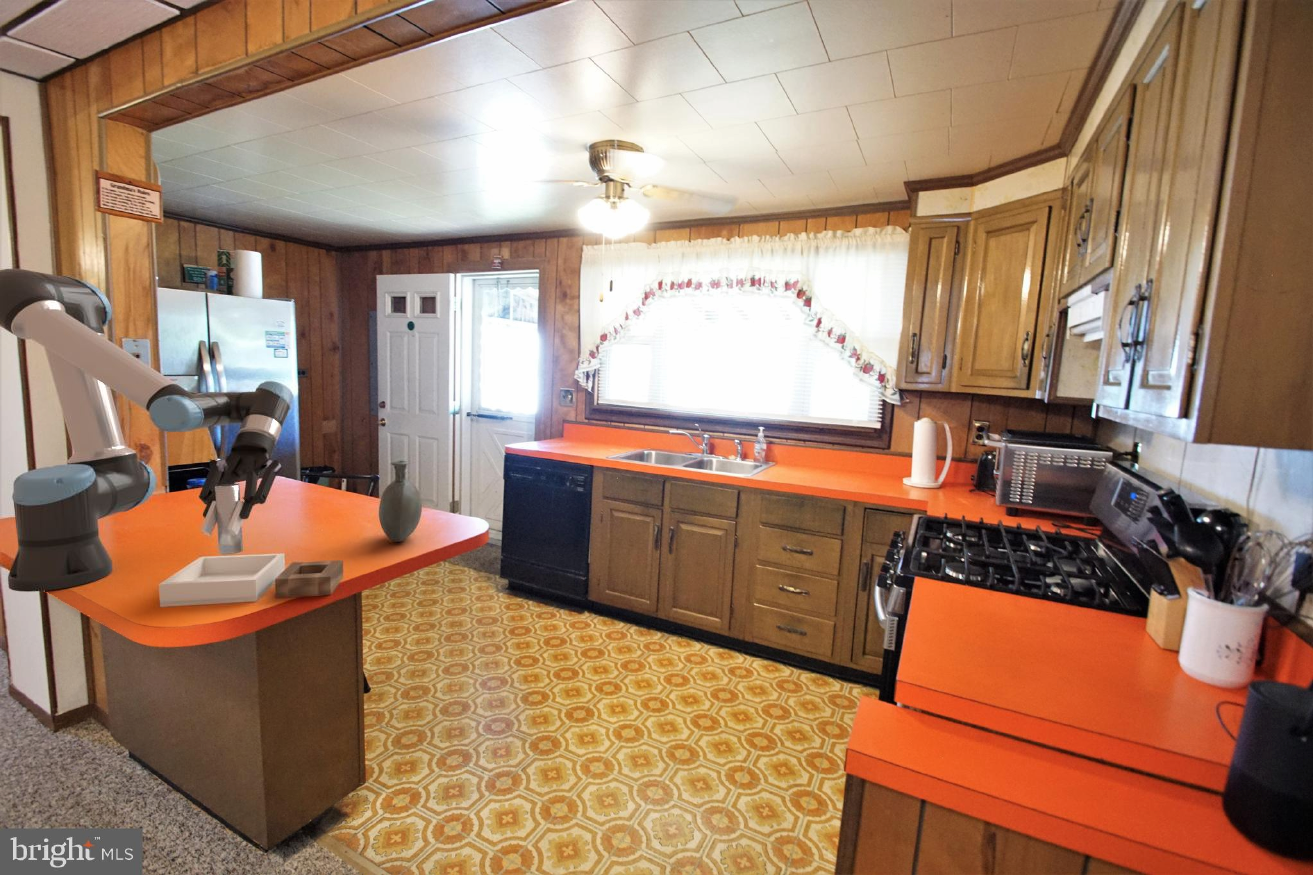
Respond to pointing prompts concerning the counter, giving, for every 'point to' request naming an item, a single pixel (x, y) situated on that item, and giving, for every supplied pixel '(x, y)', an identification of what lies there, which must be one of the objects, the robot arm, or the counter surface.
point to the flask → (400, 506)
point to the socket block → (309, 579)
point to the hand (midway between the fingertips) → (219, 532)
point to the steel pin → (227, 518)
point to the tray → (222, 580)
